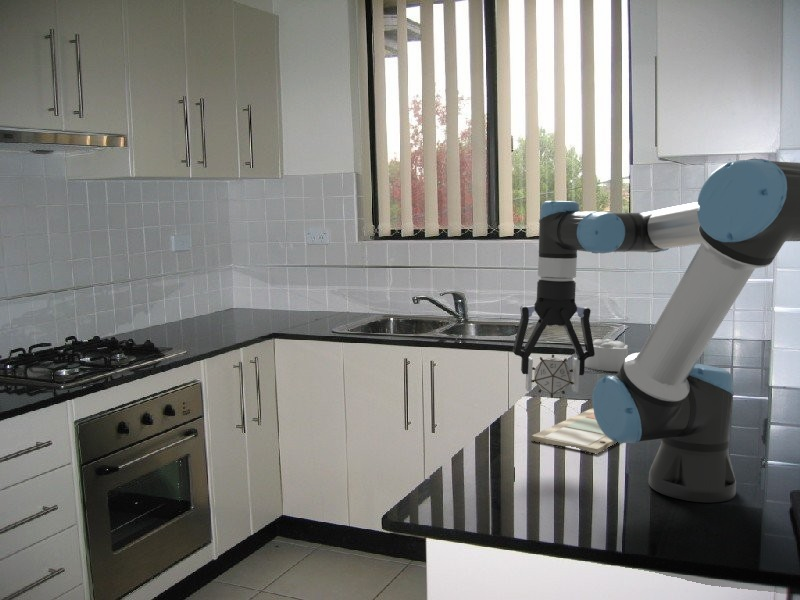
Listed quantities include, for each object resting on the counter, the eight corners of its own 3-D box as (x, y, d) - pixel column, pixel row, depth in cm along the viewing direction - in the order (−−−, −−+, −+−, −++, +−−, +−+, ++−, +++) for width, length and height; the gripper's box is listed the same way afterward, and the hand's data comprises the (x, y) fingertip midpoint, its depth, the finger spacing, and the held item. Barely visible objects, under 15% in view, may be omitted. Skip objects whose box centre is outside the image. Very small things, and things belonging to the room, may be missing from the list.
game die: (546, 410, 172) (548, 367, 177) (582, 402, 167) (582, 357, 172) (520, 394, 167) (523, 349, 172) (557, 385, 162) (558, 339, 167)
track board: (596, 454, 173) (597, 448, 173) (531, 440, 182) (531, 435, 182) (655, 421, 201) (655, 416, 201) (596, 410, 210) (596, 405, 210)
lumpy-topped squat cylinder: (625, 372, 259) (627, 344, 258) (582, 368, 263) (584, 341, 262) (627, 366, 269) (628, 339, 268) (585, 362, 273) (587, 336, 272)
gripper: (605, 278, 171) (600, 387, 174) (500, 276, 171) (496, 385, 173) (615, 281, 164) (609, 395, 166) (505, 279, 163) (501, 393, 166)
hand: (551, 390), depth 170 cm, fingers closed on game die, 9 cm apart
